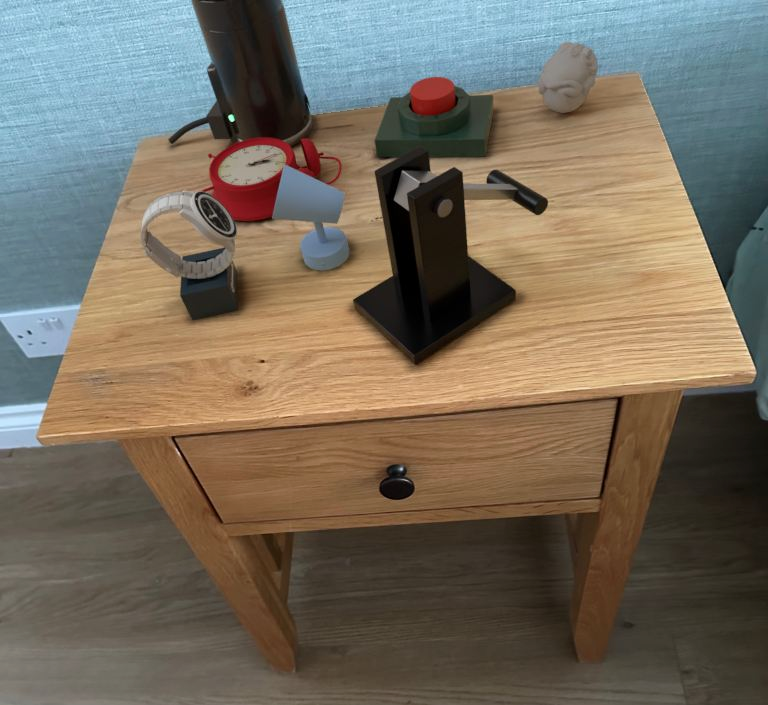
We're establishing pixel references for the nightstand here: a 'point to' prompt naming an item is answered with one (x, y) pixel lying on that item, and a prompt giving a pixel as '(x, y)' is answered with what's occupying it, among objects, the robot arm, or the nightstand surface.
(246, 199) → the alarm clock
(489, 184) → the lever
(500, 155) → the nightstand surface
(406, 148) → the button block
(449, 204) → the bracket
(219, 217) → the watch
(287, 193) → the spotlight
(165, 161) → the nightstand surface
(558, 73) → the grey rounded piece
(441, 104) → the button
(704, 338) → the nightstand surface
